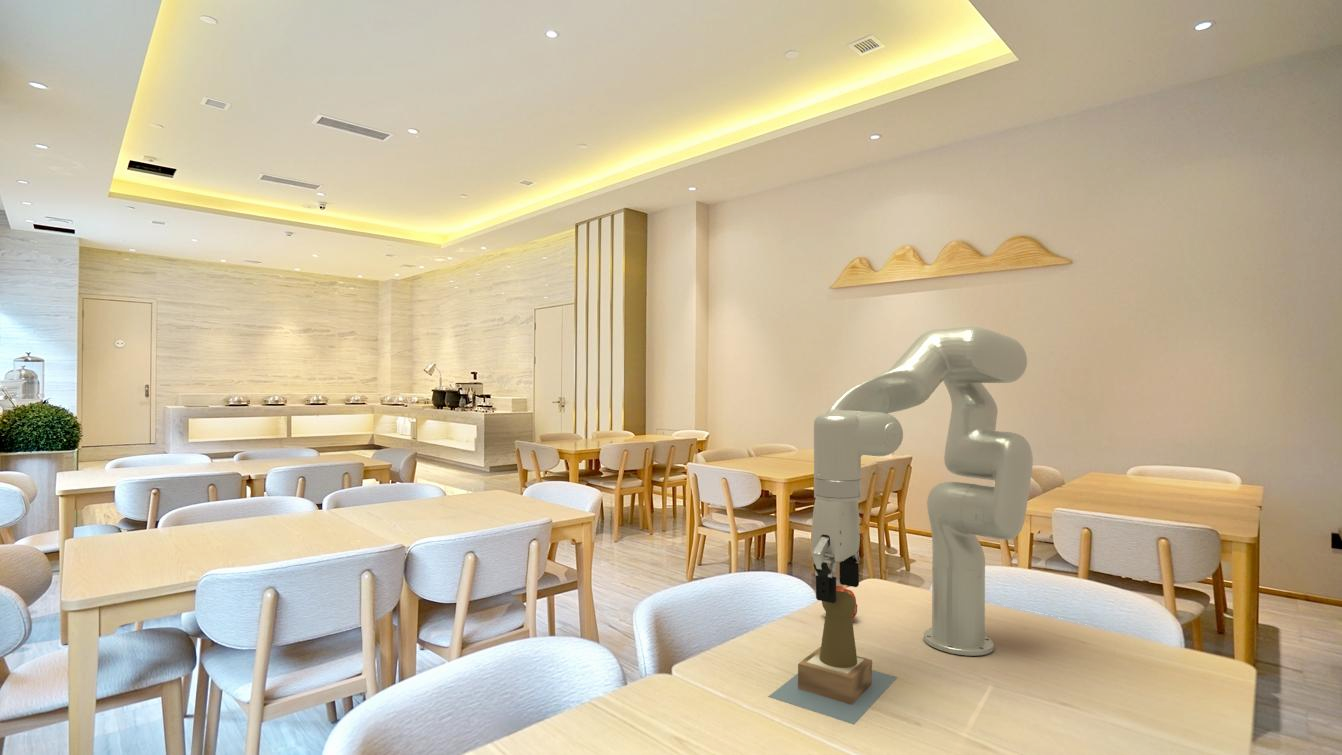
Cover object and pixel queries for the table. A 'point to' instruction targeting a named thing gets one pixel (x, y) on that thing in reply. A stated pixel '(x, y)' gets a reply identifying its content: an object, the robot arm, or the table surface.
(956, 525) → the robot arm
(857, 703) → the board
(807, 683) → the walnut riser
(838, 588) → the pomegranate
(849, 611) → the cork
